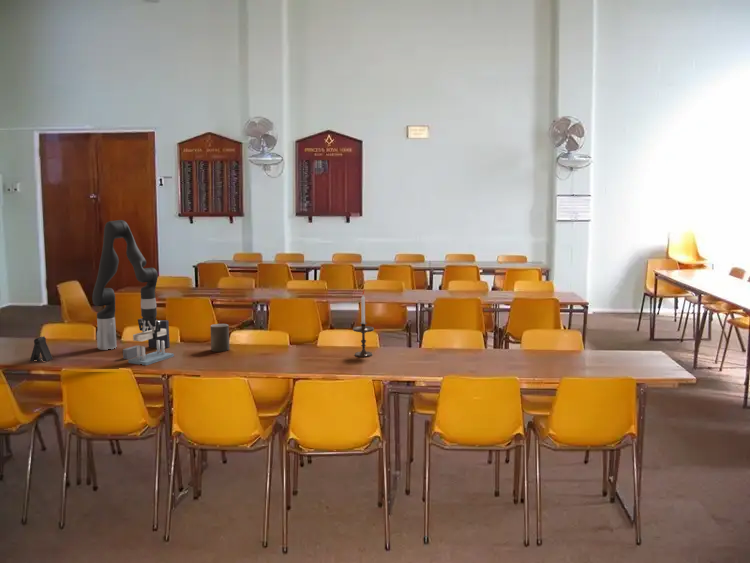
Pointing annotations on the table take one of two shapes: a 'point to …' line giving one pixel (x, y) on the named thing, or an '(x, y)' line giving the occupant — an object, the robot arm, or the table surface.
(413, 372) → the table surface
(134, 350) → the block
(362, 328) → the candlestick
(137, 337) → the shelf board
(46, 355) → the phone stand
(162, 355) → the peg stand
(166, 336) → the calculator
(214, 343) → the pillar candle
